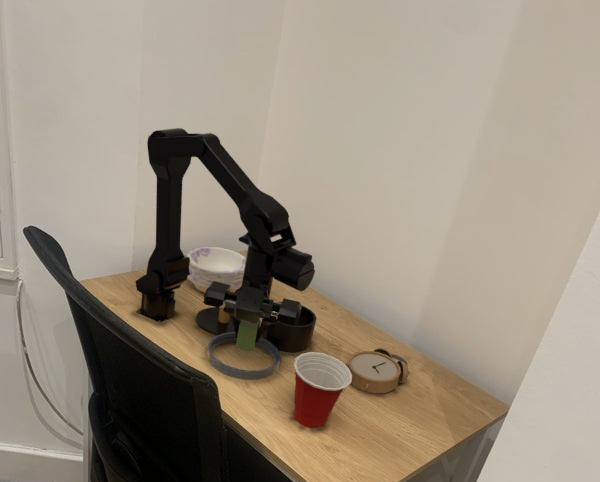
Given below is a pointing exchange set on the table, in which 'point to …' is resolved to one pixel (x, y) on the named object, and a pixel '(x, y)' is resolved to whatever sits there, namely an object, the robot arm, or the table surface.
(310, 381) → the plastic cup
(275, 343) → the tin
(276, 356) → the blue-grey round rimmed part
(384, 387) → the alarm clock
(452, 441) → the table surface
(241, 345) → the green block
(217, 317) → the tin lid
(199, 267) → the paper bowls
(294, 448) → the table surface
